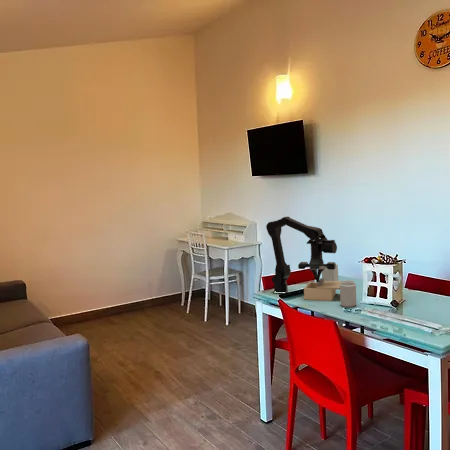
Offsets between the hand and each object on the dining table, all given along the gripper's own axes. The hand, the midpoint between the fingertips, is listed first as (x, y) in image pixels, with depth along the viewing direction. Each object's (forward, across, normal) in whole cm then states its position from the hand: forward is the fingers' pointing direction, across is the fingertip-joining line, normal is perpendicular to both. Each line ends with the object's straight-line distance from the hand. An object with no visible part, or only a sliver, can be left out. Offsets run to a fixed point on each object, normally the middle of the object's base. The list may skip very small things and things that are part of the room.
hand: (317, 281), depth 249 cm
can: (+8, +17, -14) cm, 24 cm away
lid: (+2, +8, 0) cm, 8 cm away
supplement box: (+8, +3, +21) cm, 23 cm away
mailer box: (+8, +1, 0) cm, 8 cm away
